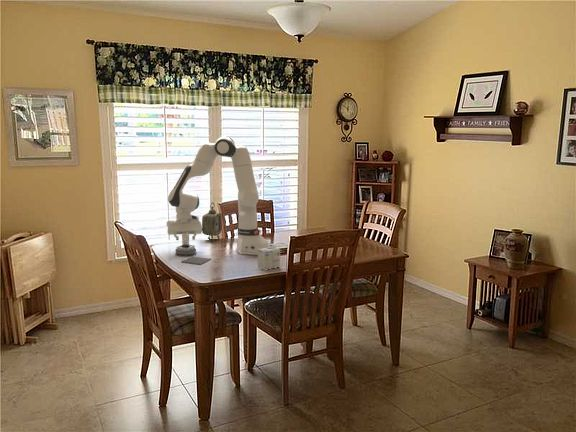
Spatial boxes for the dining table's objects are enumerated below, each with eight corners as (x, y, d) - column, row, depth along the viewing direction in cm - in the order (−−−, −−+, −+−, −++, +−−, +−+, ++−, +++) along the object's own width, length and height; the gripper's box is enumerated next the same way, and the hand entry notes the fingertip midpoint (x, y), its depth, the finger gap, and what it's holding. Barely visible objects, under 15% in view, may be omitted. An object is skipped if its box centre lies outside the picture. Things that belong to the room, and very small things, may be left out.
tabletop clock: (214, 242, 331) (214, 204, 327) (201, 241, 333) (201, 203, 329) (221, 237, 345) (221, 201, 341) (209, 236, 347) (209, 200, 343)
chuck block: (199, 252, 304) (199, 245, 304) (189, 257, 293) (189, 249, 292) (182, 250, 308) (182, 243, 307) (171, 254, 297) (171, 247, 296)
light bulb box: (272, 265, 281) (273, 246, 279) (280, 267, 276) (280, 248, 274) (257, 268, 274) (257, 248, 272) (264, 271, 269) (264, 251, 267)
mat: (211, 259, 289) (211, 258, 288) (200, 264, 277) (200, 263, 277) (192, 257, 292) (192, 256, 292) (181, 262, 281) (181, 261, 281)
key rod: (190, 249, 301) (190, 232, 300) (186, 250, 298) (186, 233, 296) (184, 248, 303) (184, 231, 301) (181, 249, 299) (180, 233, 297)
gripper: (166, 217, 301) (167, 237, 293) (201, 216, 307) (203, 235, 299) (166, 223, 306) (167, 243, 298) (200, 222, 312) (202, 241, 304)
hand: (185, 239), depth 299 cm, fingers open, 8 cm apart
